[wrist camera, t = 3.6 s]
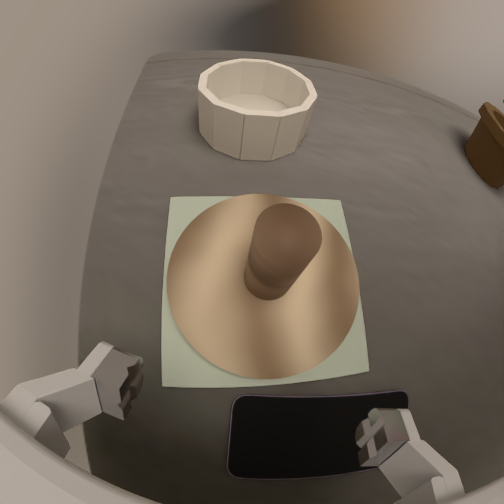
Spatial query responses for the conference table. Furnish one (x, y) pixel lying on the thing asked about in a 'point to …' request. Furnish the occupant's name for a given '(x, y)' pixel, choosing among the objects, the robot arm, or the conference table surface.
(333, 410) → the smartphone
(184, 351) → the mat
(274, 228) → the lid
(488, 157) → the flowerpot
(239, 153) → the bowl
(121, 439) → the conference table surface
